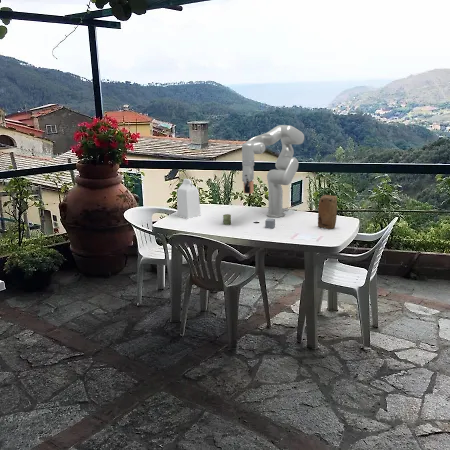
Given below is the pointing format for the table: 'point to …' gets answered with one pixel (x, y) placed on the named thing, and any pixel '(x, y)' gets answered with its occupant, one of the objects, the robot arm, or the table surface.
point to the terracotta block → (250, 187)
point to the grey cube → (270, 223)
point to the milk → (188, 200)
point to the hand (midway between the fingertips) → (248, 191)
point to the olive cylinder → (227, 219)
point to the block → (327, 211)
